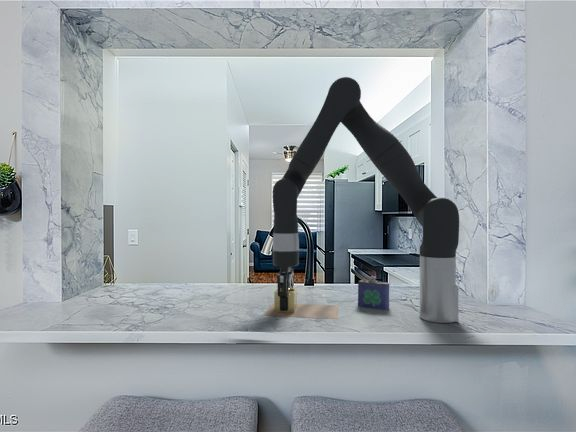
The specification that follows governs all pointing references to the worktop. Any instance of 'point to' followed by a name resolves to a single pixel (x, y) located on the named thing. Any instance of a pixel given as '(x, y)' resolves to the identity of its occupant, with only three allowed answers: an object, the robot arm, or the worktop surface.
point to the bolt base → (308, 311)
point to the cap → (291, 301)
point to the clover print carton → (373, 294)
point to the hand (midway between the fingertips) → (285, 307)
